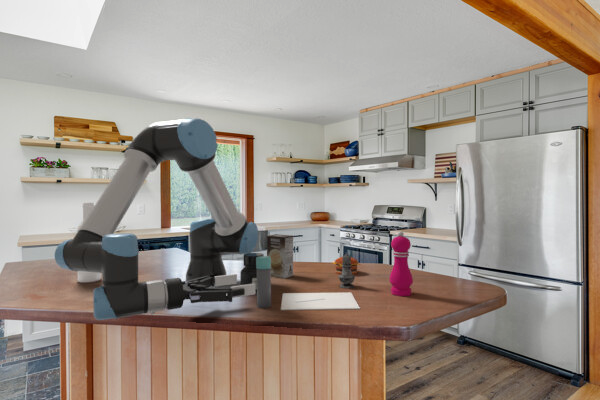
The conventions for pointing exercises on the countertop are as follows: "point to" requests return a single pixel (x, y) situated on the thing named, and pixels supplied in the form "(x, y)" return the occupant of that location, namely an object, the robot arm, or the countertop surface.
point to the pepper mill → (401, 266)
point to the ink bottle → (250, 269)
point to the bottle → (87, 208)
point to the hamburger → (340, 262)
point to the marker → (263, 281)
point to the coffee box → (280, 255)
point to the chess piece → (346, 273)
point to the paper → (318, 301)
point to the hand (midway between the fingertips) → (245, 283)
